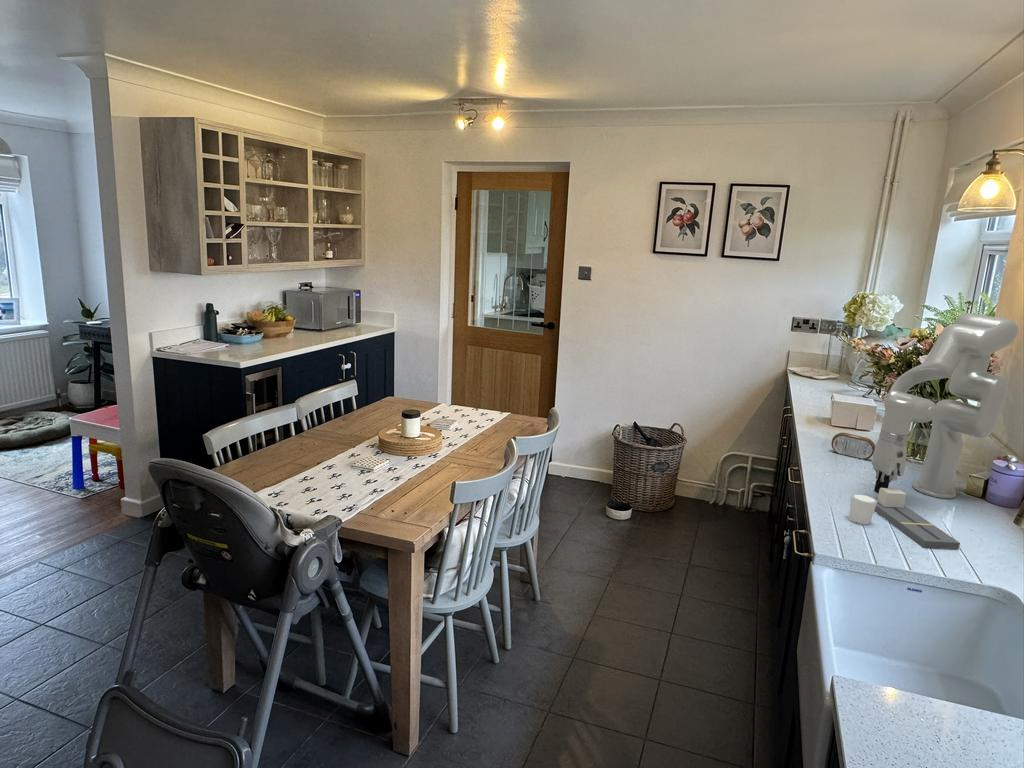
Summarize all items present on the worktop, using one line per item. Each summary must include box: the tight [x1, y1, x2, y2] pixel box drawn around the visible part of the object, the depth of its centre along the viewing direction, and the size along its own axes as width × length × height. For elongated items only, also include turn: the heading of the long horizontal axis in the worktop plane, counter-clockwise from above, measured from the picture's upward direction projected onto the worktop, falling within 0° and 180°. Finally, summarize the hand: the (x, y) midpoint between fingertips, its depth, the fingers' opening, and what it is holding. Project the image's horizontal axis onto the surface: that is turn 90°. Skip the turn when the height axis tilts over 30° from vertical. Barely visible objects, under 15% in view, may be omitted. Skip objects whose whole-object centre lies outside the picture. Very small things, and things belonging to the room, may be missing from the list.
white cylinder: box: [848, 493, 877, 525], centre depth 199 cm, size 7×7×7 cm
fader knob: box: [876, 487, 907, 508], centre depth 208 cm, size 4×6×4 cm, turn 94°
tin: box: [830, 432, 876, 461], centre depth 258 cm, size 15×3×8 cm, turn 58°
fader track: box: [874, 498, 961, 550], centre depth 199 cm, size 28×10×2 cm, turn 4°
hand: (880, 492), depth 213 cm, fingers closed
